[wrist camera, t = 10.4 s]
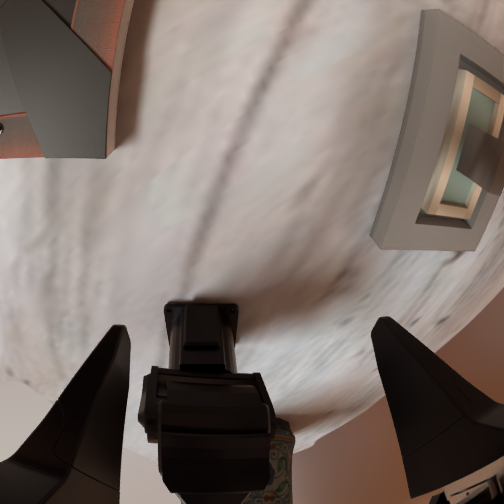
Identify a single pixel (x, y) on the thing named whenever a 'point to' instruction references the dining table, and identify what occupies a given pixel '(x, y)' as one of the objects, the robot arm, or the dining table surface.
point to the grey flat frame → (434, 140)
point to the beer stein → (278, 469)
